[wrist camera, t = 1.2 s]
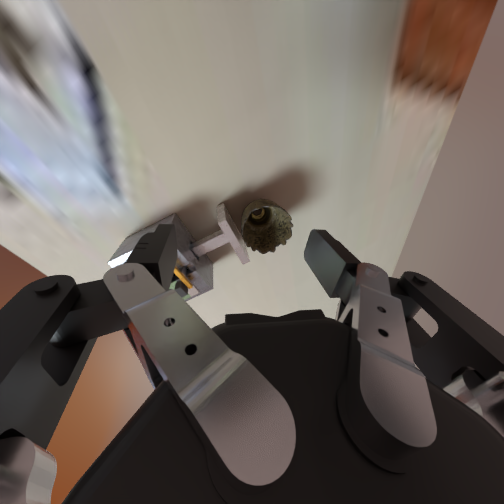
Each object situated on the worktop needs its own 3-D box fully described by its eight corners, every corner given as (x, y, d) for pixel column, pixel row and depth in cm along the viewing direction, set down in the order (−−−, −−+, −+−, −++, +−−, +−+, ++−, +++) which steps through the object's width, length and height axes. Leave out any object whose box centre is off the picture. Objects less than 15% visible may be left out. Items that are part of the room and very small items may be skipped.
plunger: (223, 203, 32) (226, 226, 25) (243, 240, 36) (251, 268, 29) (170, 229, 33) (159, 259, 26) (196, 262, 37) (193, 295, 30)
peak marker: (181, 279, 29) (180, 287, 28) (188, 287, 30) (187, 294, 29) (175, 282, 29) (174, 290, 28) (182, 290, 30) (181, 297, 29)
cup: (265, 180, 31) (279, 195, 25) (284, 215, 36) (301, 236, 29) (227, 206, 33) (231, 227, 26) (250, 237, 37) (258, 261, 30)
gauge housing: (175, 212, 32) (166, 236, 25) (212, 263, 39) (213, 292, 32) (125, 238, 33) (103, 267, 26) (170, 283, 39) (162, 316, 33)
